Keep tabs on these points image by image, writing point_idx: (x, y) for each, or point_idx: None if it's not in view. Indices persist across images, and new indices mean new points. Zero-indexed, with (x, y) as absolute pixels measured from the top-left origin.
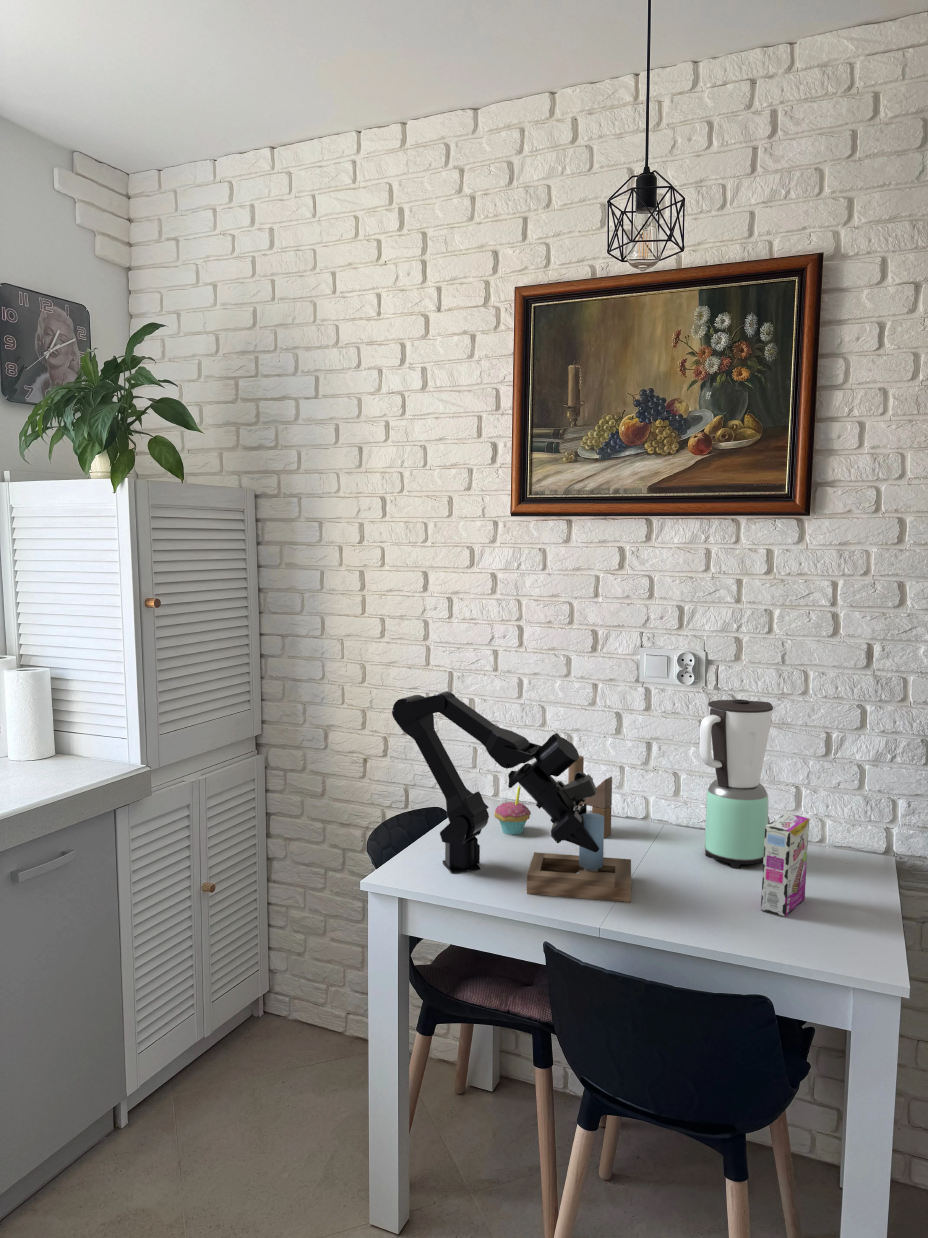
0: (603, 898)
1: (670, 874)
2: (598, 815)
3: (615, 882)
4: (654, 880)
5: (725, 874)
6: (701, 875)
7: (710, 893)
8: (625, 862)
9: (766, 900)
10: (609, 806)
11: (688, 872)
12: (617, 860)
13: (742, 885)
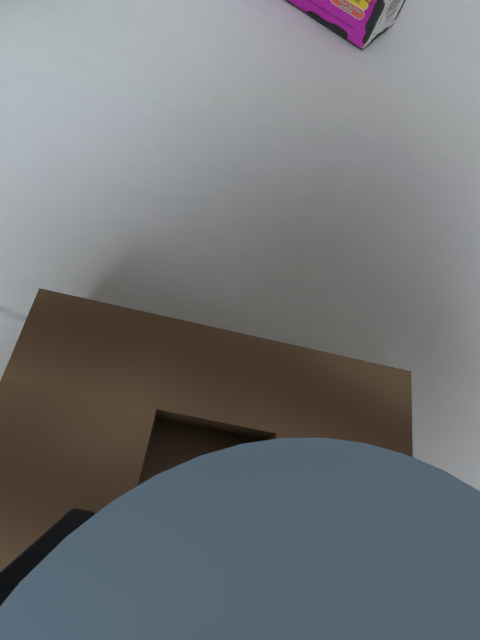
0: None
1: (42, 164)
2: (195, 602)
3: (410, 455)
4: (107, 241)
5: (68, 14)
6: (69, 76)
7: (242, 110)
8: (94, 332)
9: (385, 10)
10: None
11: (29, 101)
12: (50, 375)
13: (171, 14)
